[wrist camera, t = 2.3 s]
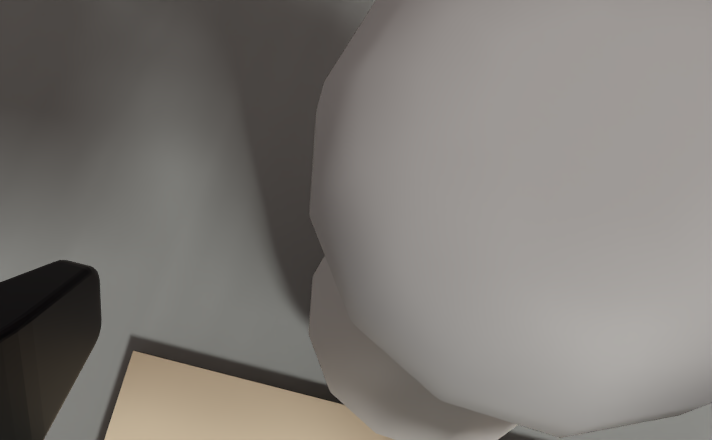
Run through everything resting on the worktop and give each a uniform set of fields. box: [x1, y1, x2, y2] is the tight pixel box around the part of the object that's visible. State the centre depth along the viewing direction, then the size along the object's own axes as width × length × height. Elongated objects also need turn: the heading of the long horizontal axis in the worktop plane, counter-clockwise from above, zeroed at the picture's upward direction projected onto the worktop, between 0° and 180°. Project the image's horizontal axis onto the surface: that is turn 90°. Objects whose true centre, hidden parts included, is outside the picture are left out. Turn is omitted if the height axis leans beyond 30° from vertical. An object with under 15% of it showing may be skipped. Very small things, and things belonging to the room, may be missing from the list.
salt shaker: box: [309, 0, 712, 440], centre depth 11 cm, size 6×6×13 cm
